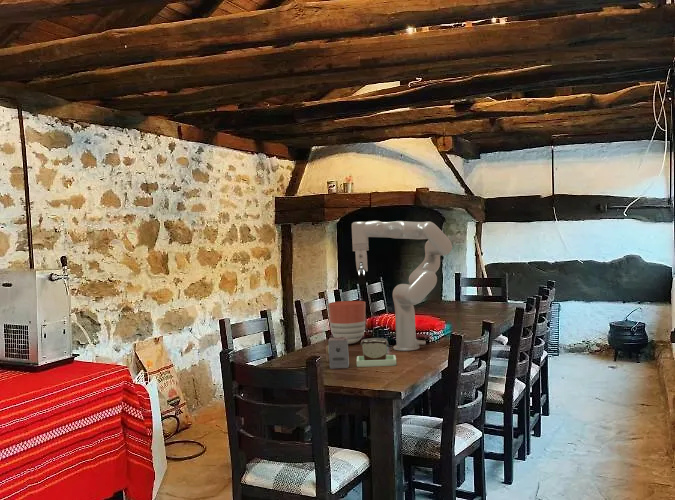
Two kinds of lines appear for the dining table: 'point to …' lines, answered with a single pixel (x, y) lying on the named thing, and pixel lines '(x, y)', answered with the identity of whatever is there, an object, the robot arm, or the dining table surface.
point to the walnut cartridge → (327, 354)
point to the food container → (374, 348)
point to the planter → (347, 319)
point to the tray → (376, 361)
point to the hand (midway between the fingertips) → (362, 283)
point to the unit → (338, 352)
